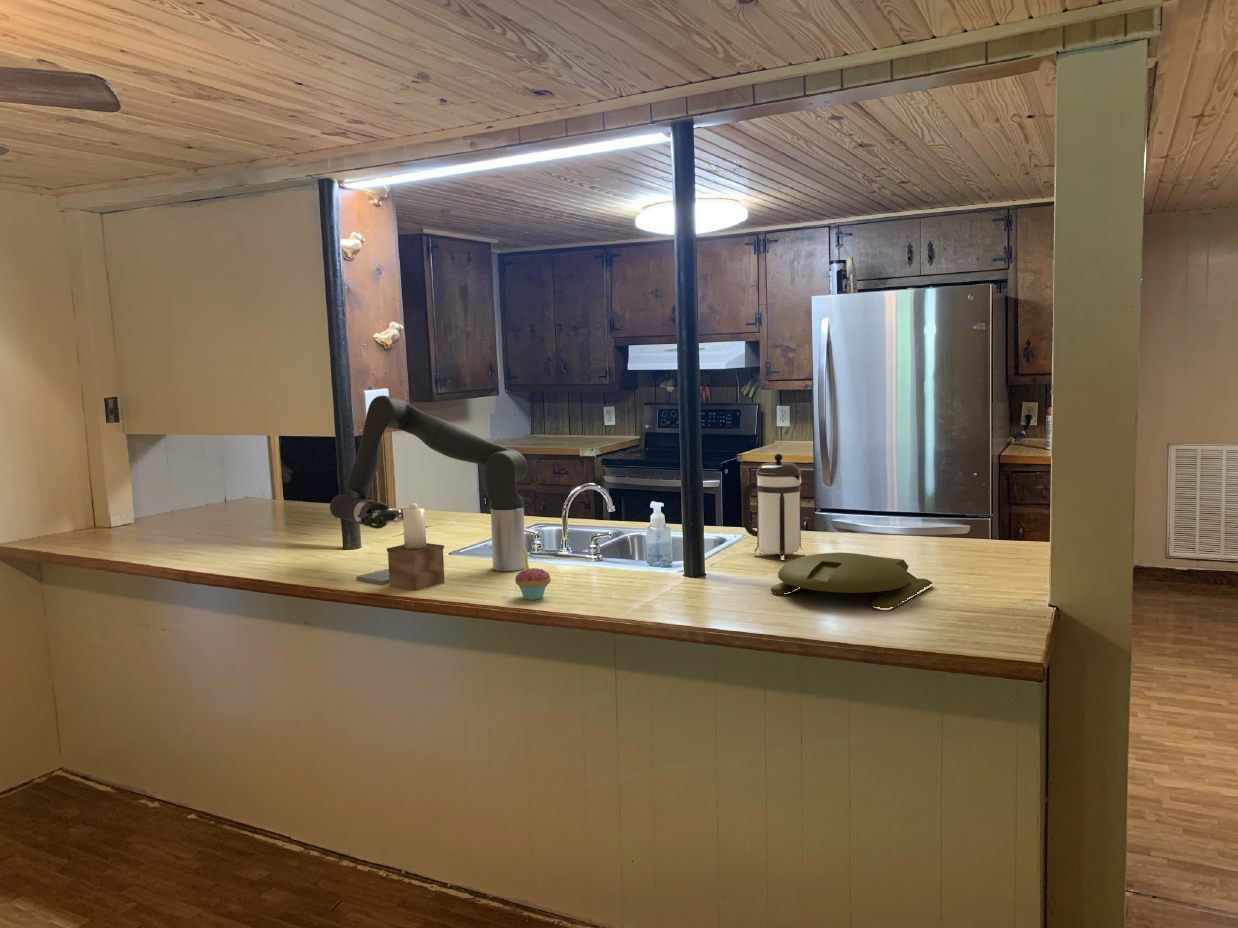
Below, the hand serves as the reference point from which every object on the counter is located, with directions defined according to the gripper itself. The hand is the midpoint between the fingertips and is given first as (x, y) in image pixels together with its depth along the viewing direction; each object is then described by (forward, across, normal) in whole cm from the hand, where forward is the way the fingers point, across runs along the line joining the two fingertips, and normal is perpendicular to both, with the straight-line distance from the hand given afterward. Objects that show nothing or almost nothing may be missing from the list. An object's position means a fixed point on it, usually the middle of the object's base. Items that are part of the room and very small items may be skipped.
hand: (397, 519), depth 242 cm
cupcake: (+44, +14, +16) cm, 49 cm away
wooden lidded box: (+10, 0, +16) cm, 19 cm away
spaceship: (+94, +71, +17) cm, 119 cm away
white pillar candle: (+10, 0, +6) cm, 12 cm away
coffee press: (+52, +93, +16) cm, 108 cm away
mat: (-3, -2, +16) cm, 16 cm away
